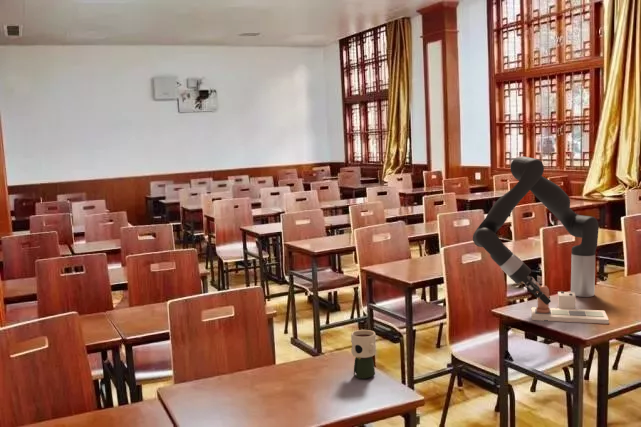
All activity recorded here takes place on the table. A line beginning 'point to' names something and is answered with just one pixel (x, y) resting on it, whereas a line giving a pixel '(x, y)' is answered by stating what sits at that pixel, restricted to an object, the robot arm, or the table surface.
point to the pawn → (541, 305)
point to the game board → (571, 315)
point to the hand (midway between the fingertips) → (548, 301)
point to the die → (566, 300)
